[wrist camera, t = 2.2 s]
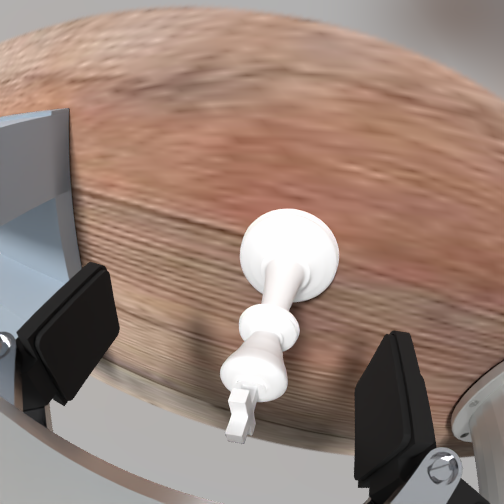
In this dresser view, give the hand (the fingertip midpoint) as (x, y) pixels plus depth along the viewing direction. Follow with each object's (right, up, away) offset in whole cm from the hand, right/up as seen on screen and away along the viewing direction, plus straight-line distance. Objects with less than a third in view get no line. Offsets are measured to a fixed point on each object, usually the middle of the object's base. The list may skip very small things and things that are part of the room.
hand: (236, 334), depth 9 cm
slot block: (-16, +5, +9) cm, 19 cm away
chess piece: (+2, +3, +6) cm, 7 cm away
